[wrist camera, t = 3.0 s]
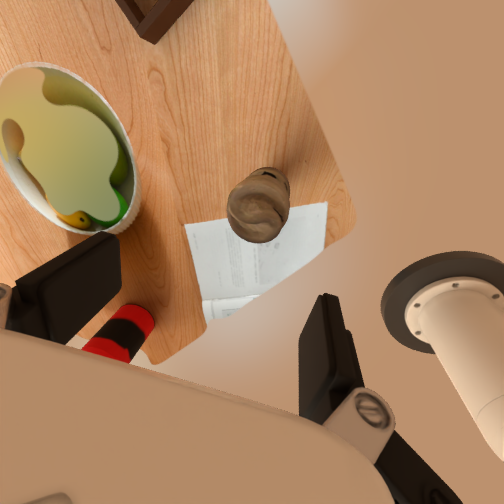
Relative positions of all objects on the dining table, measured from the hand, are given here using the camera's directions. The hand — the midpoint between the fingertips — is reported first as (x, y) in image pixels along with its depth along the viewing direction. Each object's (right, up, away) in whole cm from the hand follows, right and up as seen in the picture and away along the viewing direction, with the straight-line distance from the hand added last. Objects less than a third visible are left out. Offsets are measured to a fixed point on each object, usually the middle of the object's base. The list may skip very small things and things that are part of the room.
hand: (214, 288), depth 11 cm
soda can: (-21, -11, +39) cm, 45 cm away
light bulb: (+4, +11, +22) cm, 25 cm away
